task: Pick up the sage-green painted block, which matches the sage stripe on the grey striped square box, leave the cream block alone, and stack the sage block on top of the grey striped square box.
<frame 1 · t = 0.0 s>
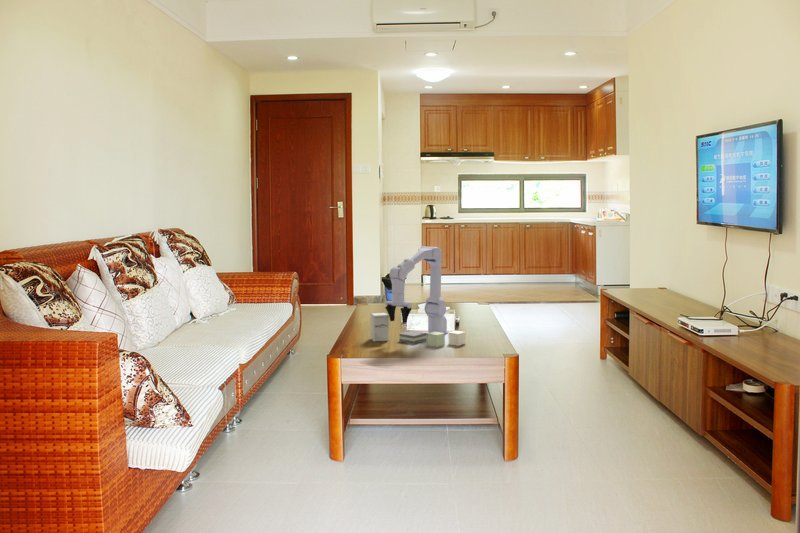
hand: (398, 321, 317), 10 cm above the table, tool pointing down, fingers open, 7 cm apart
supplement box: (379, 340, 326), on the table
grey striped square box: (412, 341, 323), on the table
cream block: (456, 344, 316), on the table
sage block: (436, 345, 314), on the table
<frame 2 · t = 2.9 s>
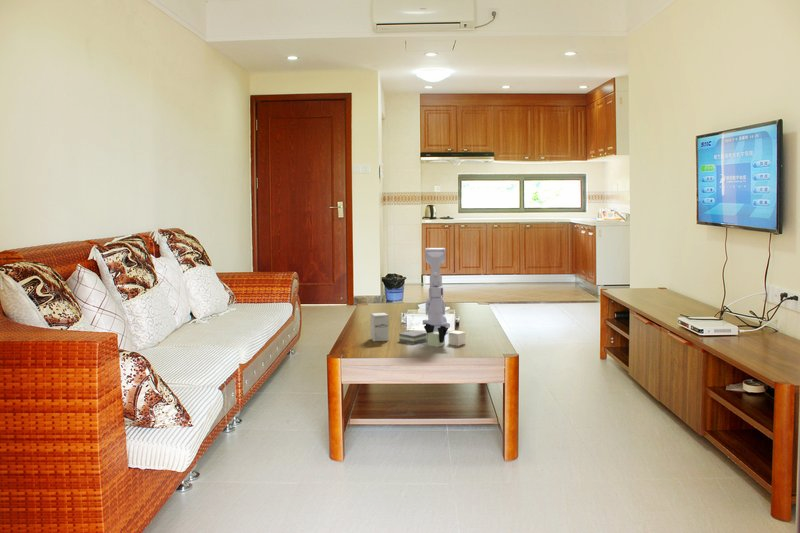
hand: (436, 341, 314), 2 cm above the table, tool pointing down, fingers closed on sage block, 6 cm apart
sage block: (436, 345, 314), on the table, touching gripper
everything else where it was.
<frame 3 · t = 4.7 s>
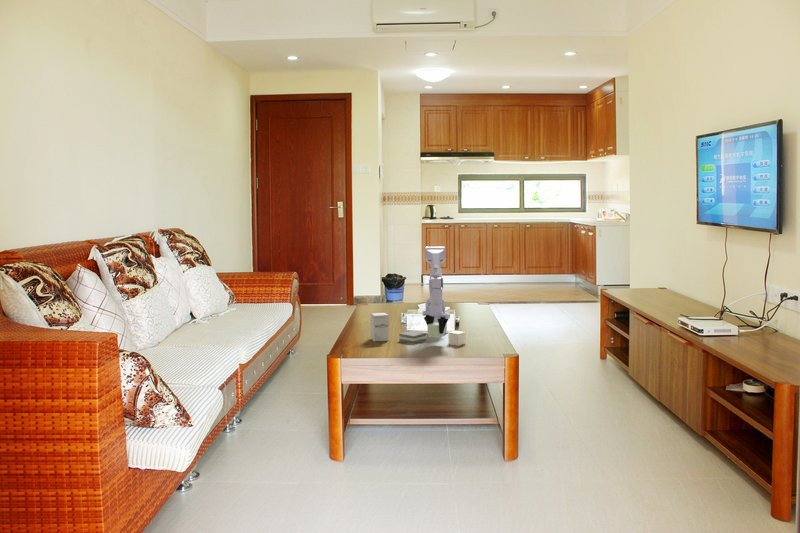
hand: (436, 332, 313), 6 cm above the table, tool pointing down, fingers closed on sage block, 6 cm apart
sage block: (436, 336, 313), point 4 cm above the table, touching gripper
everything else where it was.
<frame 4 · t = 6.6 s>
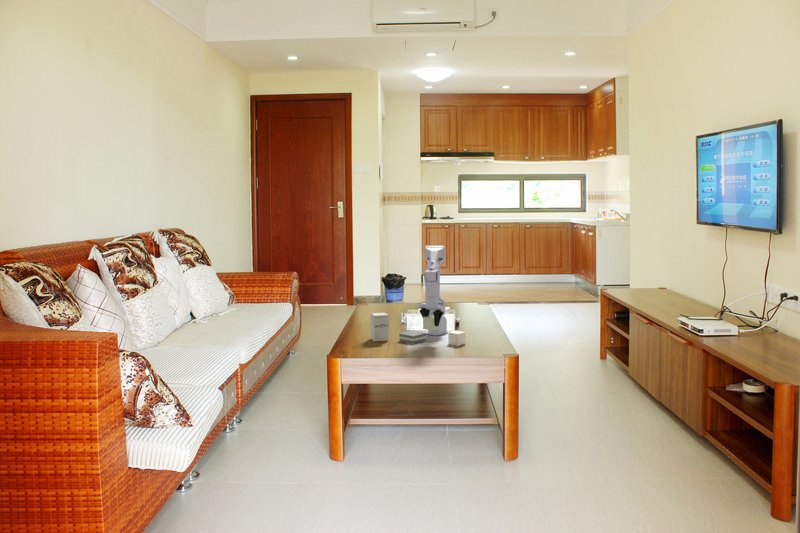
hand: (431, 325, 315), 9 cm above the table, tool pointing down, fingers closed on sage block, 6 cm apart
sage block: (431, 328, 315), point 7 cm above the table, touching gripper
everything else where it was.
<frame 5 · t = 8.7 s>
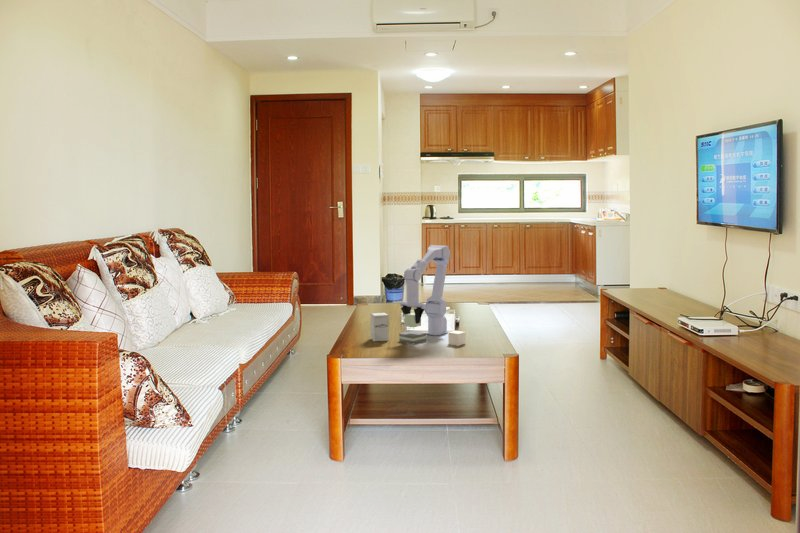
hand: (412, 322, 322), 9 cm above the table, tool pointing down, fingers closed on sage block, 6 cm apart
sage block: (412, 325, 322), point 7 cm above the table, touching gripper
everything else where it was.
when the fingers open (7 cm above the table, at t = 10.4 s): sage block drops 1 cm, resting on grey striped square box.
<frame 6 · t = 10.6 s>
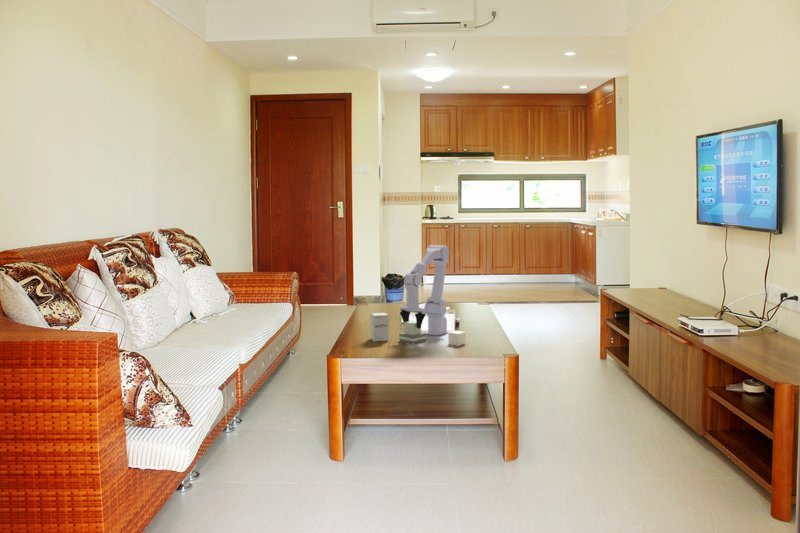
hand: (412, 327, 322), 7 cm above the table, tool pointing down, fingers open, 7 cm apart
grey striped square box: (412, 341, 323), on the table, touching sage block
sage block: (412, 333, 322), point 4 cm above the table, touching grey striped square box
everything else where it was.
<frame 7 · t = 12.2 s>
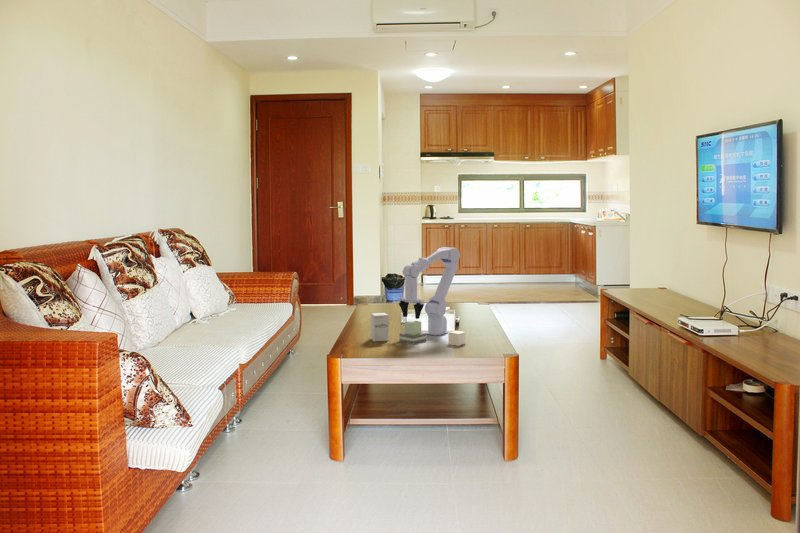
hand: (411, 317, 329), 10 cm above the table, tool pointing down, fingers open, 7 cm apart
nothing on the table moved.
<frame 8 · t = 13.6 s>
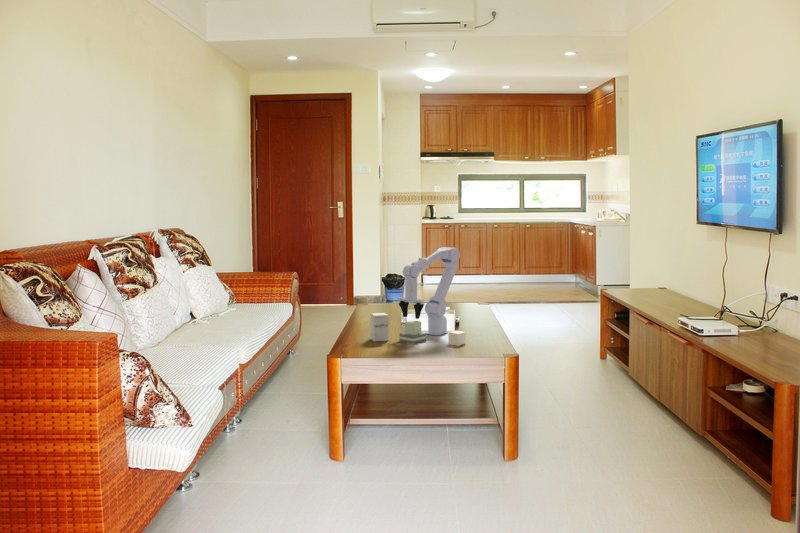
hand: (411, 317, 329), 10 cm above the table, tool pointing down, fingers open, 7 cm apart
nothing on the table moved.
at the end: sage block 0.2 cm off-centre on the grey striped square box, point 4.0 cm above the grey striped square box's base; sage block tilted 0°; cream block moved 0.1 cm from its start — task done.
